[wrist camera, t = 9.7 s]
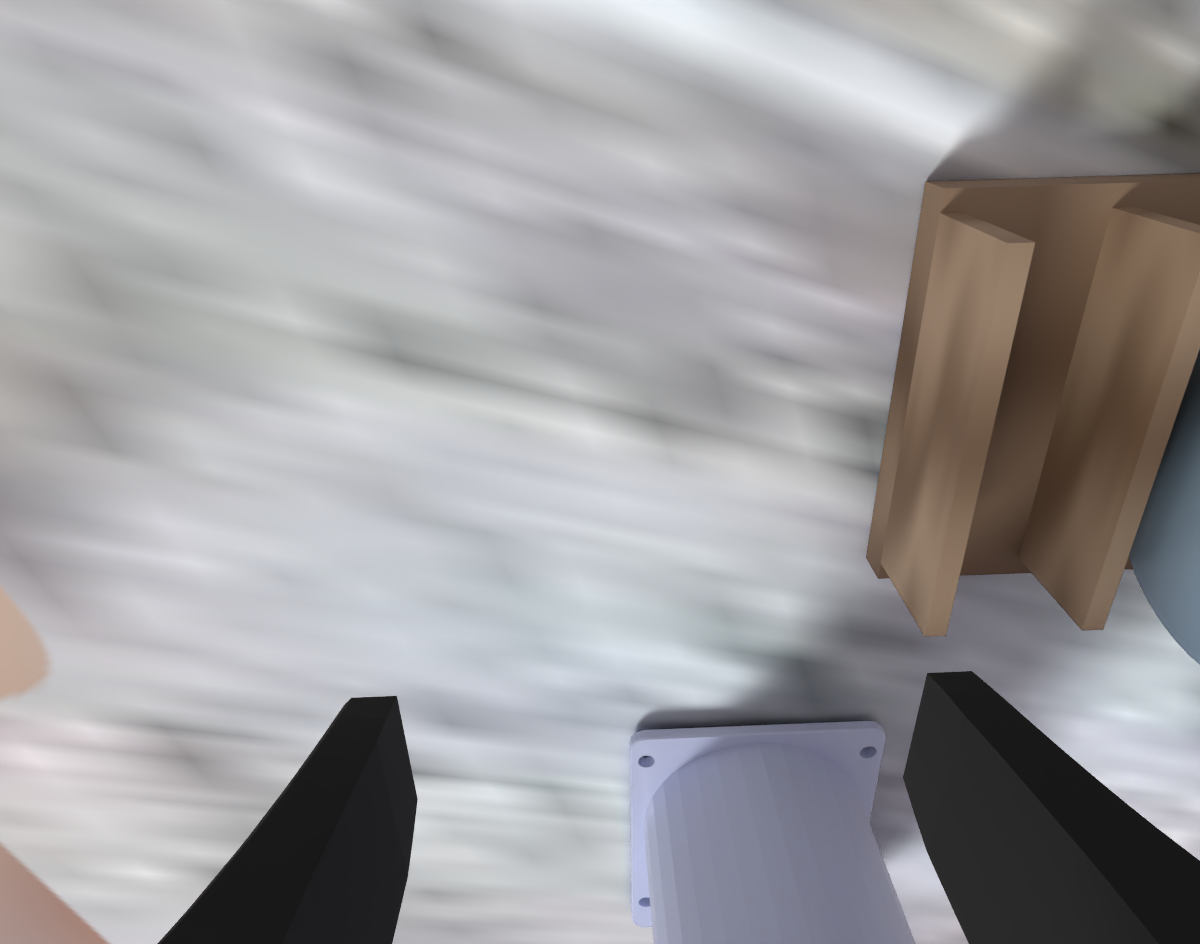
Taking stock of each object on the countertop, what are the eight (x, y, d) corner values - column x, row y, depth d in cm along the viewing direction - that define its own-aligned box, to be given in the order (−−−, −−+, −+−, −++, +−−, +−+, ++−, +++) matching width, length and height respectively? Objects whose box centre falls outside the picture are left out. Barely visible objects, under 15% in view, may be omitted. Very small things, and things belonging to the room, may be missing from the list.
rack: (1275, 542, 22) (1405, 634, 19) (865, 557, 22) (920, 653, 19) (1441, 165, 18) (1656, 194, 14) (925, 181, 18) (1013, 214, 14)
